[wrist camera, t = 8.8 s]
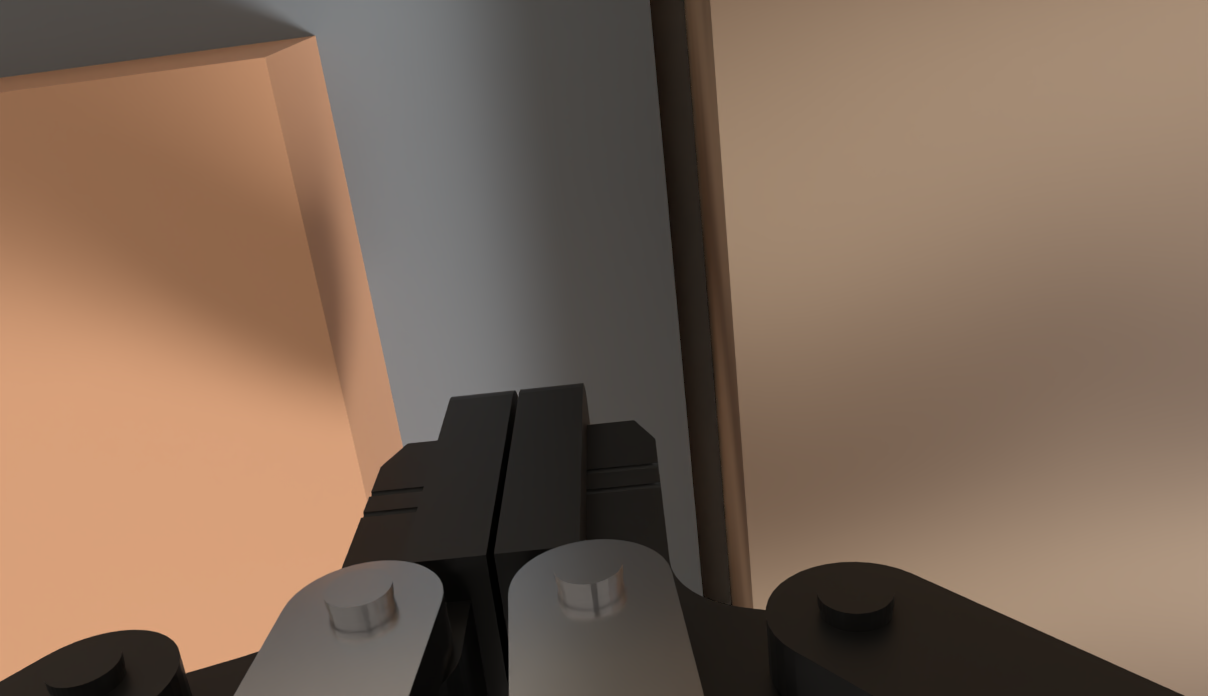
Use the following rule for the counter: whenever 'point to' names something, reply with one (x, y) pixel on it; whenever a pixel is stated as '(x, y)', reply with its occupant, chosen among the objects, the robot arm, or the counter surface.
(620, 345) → the slate mat
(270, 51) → the terracotta tile
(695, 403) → the counter surface
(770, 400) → the panel
